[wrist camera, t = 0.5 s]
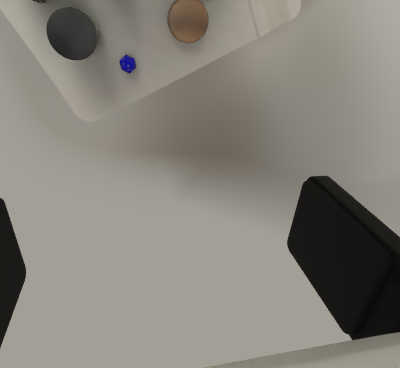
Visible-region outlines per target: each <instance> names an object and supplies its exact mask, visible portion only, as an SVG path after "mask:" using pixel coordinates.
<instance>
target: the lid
mask: <svg viewBox="0 0 400 368" xmlns="http://www.w3.org/2000/svg"><path fill="white" fill-rule="evenodd" d="M47 36H48V39H49V42H50V44H51V45H52V47H53V48H54V49H55V50H56V51H57V52H58V53H59V54H60V55H62V56H63V57H65V58H68V59H71V60H82V59H85V58H87V57H89V56H90V55H91V54H92V53H93V51H94V50H95V48H96V46H97V42H98V33H97V29H96V27H95V24H94V23H93V21H92V20H91V19H90V17H89V16H88V15H87V14H85V13H84V12H82V11H80V10H78V9H75V8H71V7H69V8H63V9H59V10H57V11H56V12H54V13H53V14H52V15H51V16H50V18H49V20H48V23H47Z"/></svg>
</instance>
